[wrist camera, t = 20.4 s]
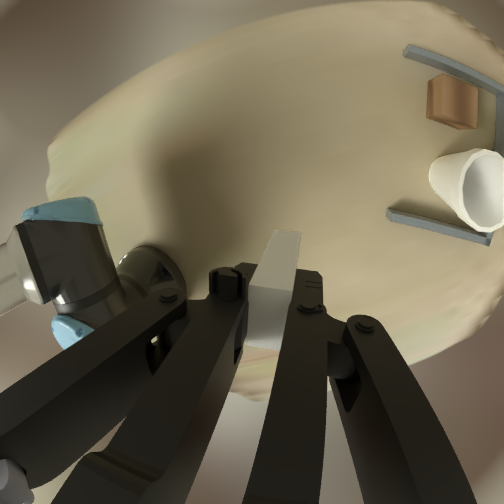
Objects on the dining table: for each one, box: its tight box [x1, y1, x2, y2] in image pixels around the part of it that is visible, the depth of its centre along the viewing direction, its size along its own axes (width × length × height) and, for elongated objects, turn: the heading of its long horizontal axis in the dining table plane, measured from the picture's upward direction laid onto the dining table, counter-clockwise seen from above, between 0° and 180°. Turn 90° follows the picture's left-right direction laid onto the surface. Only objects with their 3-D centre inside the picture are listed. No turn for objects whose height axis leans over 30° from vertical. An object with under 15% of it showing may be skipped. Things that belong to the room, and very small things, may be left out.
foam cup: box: [428, 148, 504, 233], centre depth 26 cm, size 10×9×13 cm
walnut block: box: [426, 74, 478, 130], centre depth 26 cm, size 6×6×6 cm
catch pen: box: [386, 44, 504, 246], centre depth 29 cm, size 19×26×3 cm
